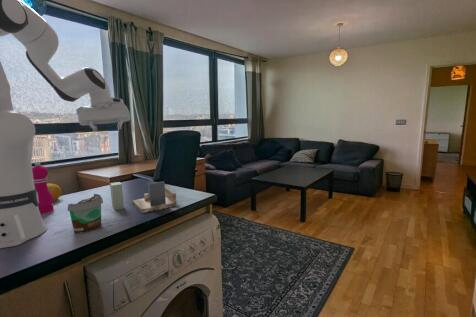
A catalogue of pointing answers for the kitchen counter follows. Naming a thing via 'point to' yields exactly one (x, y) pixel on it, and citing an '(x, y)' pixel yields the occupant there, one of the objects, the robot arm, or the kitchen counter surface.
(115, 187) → the pale green block
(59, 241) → the kitchen counter surface
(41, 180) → the pepper mill
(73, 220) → the food container
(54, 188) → the fruit
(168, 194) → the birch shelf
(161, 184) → the gray rectangular slab
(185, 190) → the kitchen counter surface
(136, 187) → the kitchen counter surface
